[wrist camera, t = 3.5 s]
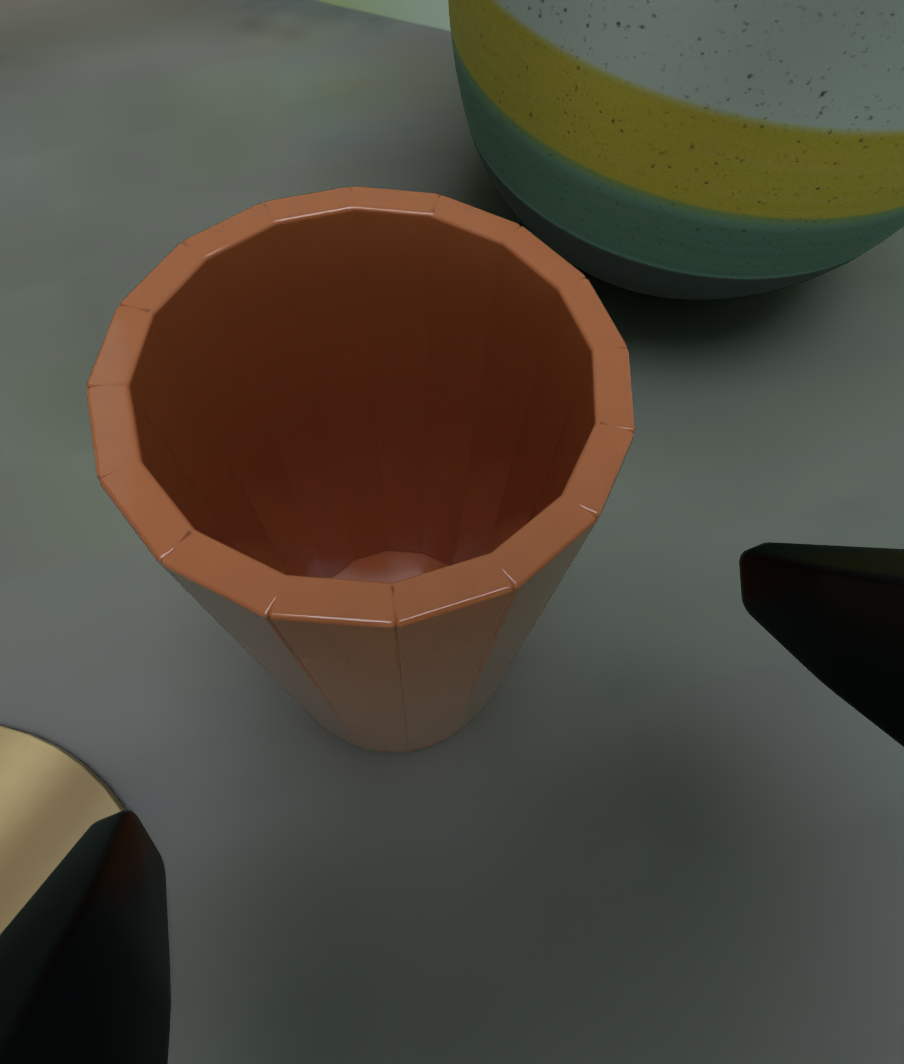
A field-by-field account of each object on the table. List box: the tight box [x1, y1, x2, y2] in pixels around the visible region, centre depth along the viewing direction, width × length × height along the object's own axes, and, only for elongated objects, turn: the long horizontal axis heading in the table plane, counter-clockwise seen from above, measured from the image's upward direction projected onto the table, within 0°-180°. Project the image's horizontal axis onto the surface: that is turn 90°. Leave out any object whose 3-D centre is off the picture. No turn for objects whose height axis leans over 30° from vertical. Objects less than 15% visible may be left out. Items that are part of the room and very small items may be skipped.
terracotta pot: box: [86, 186, 635, 752], centre depth 14 cm, size 7×7×13 cm
